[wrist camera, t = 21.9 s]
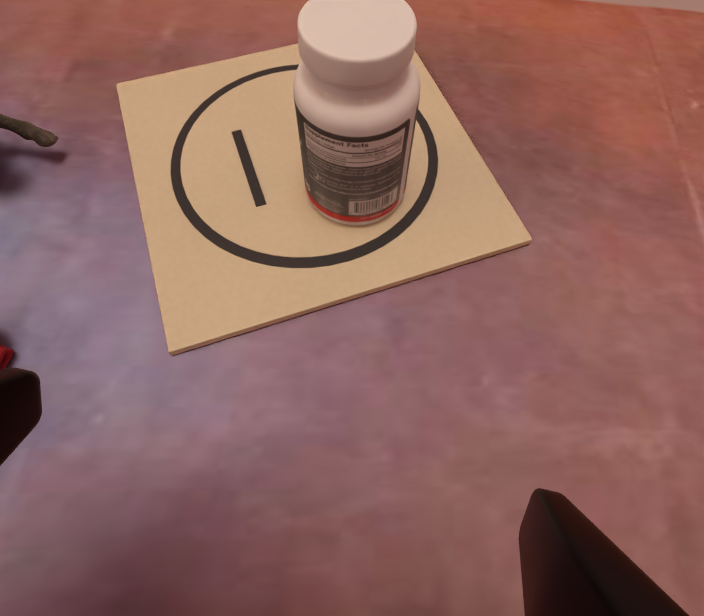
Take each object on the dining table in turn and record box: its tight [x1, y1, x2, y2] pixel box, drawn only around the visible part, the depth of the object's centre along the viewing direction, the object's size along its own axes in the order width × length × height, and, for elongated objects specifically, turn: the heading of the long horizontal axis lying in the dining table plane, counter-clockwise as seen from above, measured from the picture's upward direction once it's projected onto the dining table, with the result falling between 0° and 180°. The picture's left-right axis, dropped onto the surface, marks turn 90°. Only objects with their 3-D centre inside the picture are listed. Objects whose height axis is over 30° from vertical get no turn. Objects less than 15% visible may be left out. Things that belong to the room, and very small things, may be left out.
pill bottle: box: [293, 0, 420, 225], centre depth 23 cm, size 6×6×10 cm
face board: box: [116, 44, 532, 355], centre depth 29 cm, size 20×20×1 cm
